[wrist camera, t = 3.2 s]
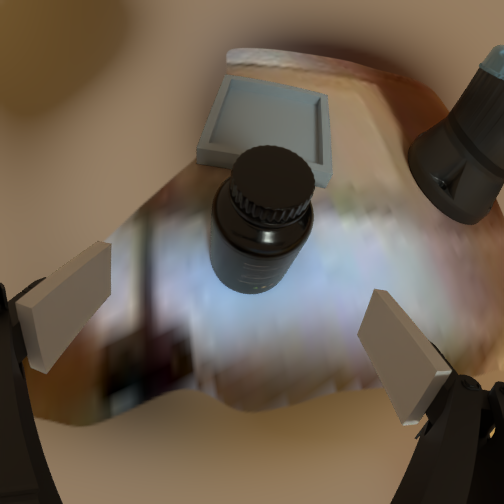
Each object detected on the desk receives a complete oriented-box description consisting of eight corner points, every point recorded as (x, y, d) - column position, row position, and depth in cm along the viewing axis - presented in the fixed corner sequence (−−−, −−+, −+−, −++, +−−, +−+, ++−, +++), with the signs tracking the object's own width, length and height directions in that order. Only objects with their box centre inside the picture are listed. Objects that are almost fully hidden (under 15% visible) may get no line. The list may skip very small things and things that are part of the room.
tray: (322, 107, 39) (327, 95, 37) (325, 188, 32) (332, 174, 30) (224, 88, 38) (225, 74, 36) (196, 163, 31) (196, 147, 29)
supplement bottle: (202, 234, 28) (202, 138, 17) (272, 220, 30) (306, 127, 19) (221, 306, 25) (231, 237, 15) (296, 286, 27) (352, 213, 16)
